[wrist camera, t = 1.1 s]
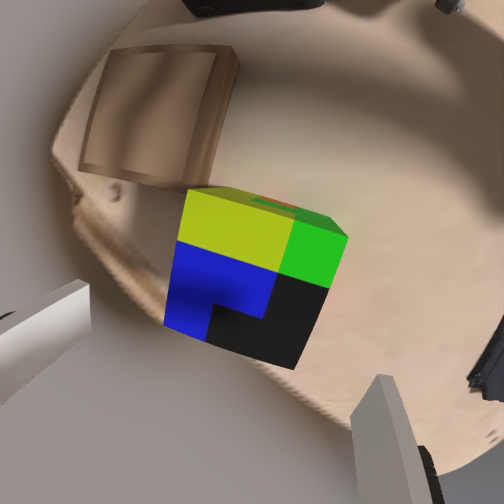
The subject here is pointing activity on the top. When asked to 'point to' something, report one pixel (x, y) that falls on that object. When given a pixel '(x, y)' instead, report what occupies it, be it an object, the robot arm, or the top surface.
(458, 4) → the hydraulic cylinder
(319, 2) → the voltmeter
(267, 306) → the puzzle toy
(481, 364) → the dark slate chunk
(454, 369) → the top surface
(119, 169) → the plinth
